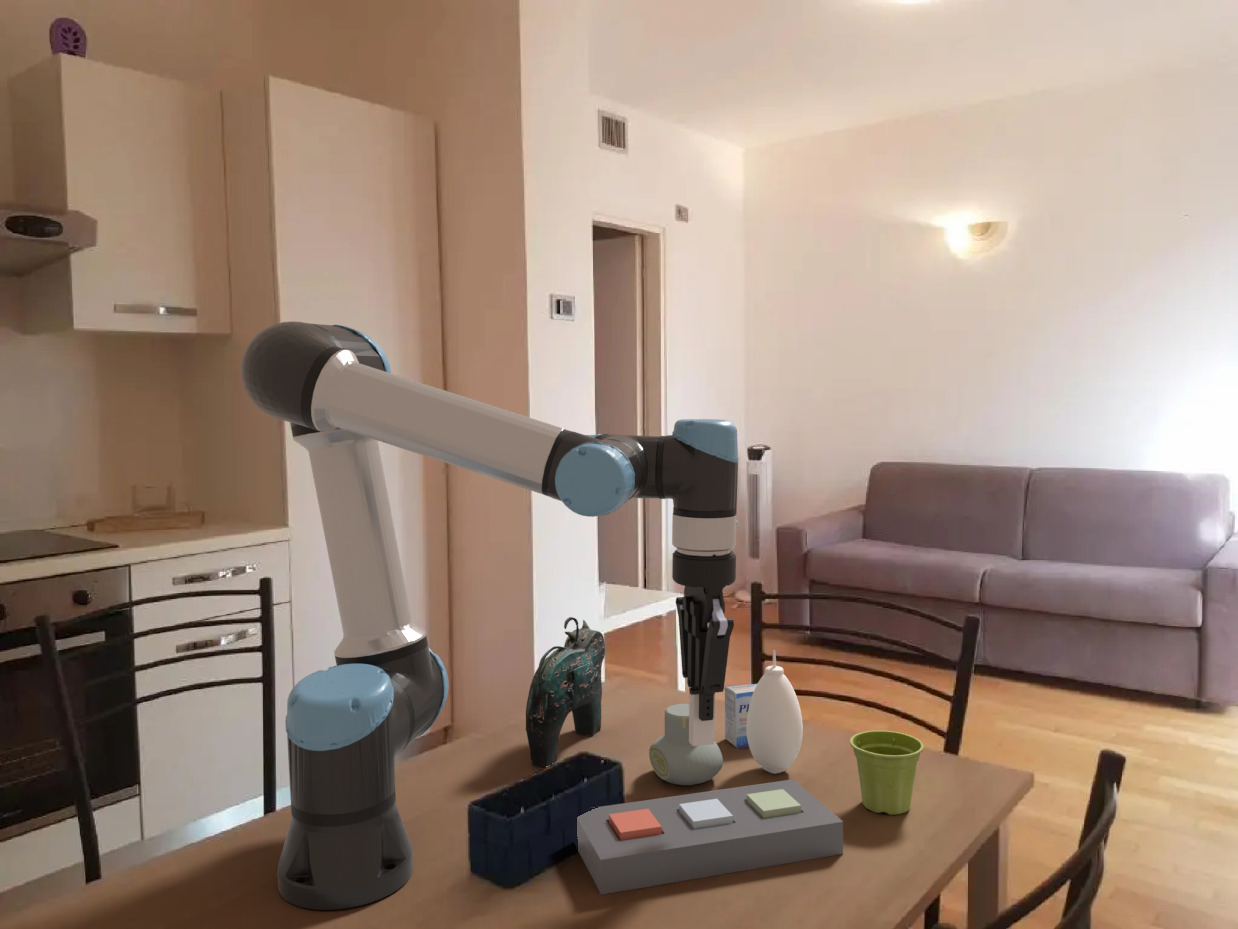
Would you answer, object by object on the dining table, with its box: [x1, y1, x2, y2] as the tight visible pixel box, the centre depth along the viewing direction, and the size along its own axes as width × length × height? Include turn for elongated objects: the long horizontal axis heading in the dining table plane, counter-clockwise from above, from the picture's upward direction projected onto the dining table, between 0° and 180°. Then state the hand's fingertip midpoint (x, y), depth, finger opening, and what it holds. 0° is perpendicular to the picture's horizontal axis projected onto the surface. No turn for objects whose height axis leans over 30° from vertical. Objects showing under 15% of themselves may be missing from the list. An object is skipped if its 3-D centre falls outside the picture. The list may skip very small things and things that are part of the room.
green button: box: [747, 789, 801, 819], centre depth 120 cm, size 5×5×3 cm
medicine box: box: [724, 683, 758, 749], centre depth 153 cm, size 8×4×9 cm, turn 106°
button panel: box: [577, 779, 844, 895], centre depth 118 cm, size 30×13×4 cm, turn 106°
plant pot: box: [849, 730, 925, 815], centre depth 129 cm, size 9×9×9 cm
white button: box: [679, 799, 733, 829], centre depth 118 cm, size 5×5×3 cm
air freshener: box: [648, 703, 724, 786], centre depth 139 cm, size 11×8×10 cm
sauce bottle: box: [747, 649, 804, 775], centre depth 140 cm, size 8×8×18 cm
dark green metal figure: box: [525, 616, 606, 768], centre depth 151 cm, size 20×6×20 cm, turn 154°
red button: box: [609, 809, 662, 841], centre depth 115 cm, size 5×5×3 cm
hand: (701, 742), depth 117 cm, fingers closed
